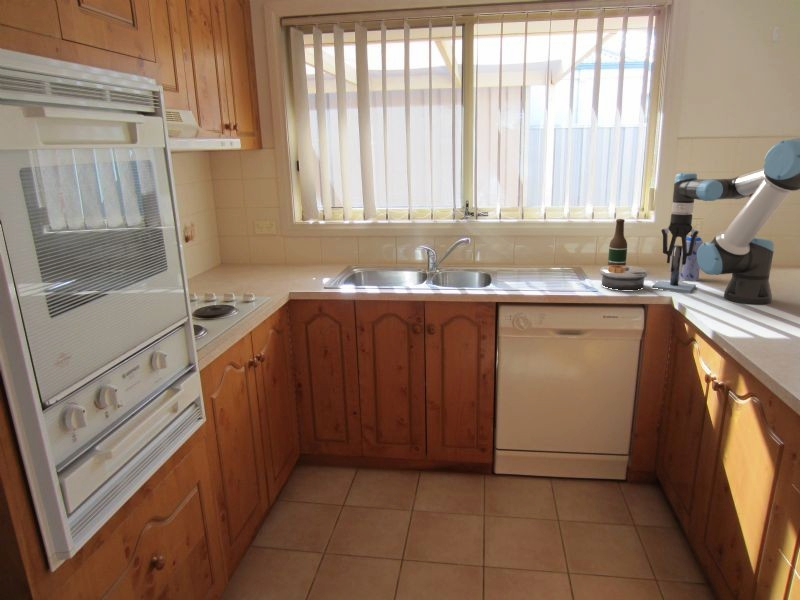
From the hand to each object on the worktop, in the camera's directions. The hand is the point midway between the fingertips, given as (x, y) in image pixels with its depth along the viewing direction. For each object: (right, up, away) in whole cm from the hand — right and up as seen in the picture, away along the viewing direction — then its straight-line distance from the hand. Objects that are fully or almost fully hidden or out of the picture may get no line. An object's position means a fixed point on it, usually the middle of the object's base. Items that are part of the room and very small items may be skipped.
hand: (675, 271), depth 225 cm
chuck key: (0, -5, +2) cm, 5 cm away
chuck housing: (-19, -6, +5) cm, 21 cm away
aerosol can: (+14, -3, +17) cm, 22 cm away
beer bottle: (-10, +2, +36) cm, 37 cm away
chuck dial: (-19, -1, +4) cm, 20 cm away
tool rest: (0, -7, +1) cm, 7 cm away
